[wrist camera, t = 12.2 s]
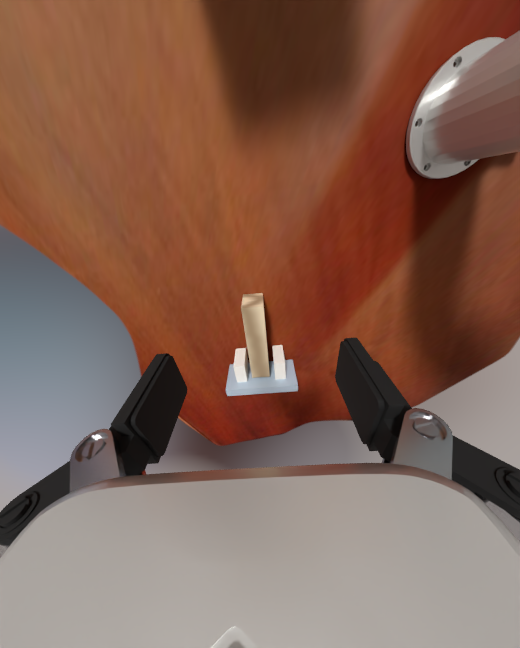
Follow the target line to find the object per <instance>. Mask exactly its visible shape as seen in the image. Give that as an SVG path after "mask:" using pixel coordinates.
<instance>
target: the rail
mask: <svg viewBox="0 0 520 648" xmlns="http://www.w3.org/2000/svg"><path fill="white" fill-rule="evenodd" d="M241 311H242V317H243V323H244V330H245V336H246V342H247V348H248V354H249V361H250V367H251V373H252V378H256V377H270V370H269V357H268V347H267V336H266V325H265V313H264V302H263V293H257V294H246V295H243V299H242V306H241Z"/></svg>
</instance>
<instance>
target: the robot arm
mask: <svg viewBox="0 0 520 648" xmlns="http://www.w3.org/2000/svg"><path fill="white" fill-rule="evenodd" d="M415 123H416V126H415ZM519 151H520V31H518V32H517V33H515V34H514V35H512V36H510V37H509V38H507V39H506V40H505V39H503V38H500V37H488V38H485V39H481V40H478V41H476V42H474V43H472V44H470V45H468V46H466V47H464V48H463V49H462V50H460V51H459V52H457V53H456V54H455V55H453V56H452V57H451V58H450V59H449V60H448V61H446V62H445V63H444V64H443V65H442V66H441V67H440V68H439V69H438V71H437V72H436V73H435V74H434V75H433V76H432V77H431V79H430V80H429V82H428V83H427V85H426V86H425V88H424V89H423V91H422V93H421V94H420V96H419V98H418V100H417V102H416V104H415V107H414V109H413V112H412V114H411V117H410V121H409V125H408V128H407V136H406V152H407V157H408V161H409V163H410V165H411V167H412V168H413V169H414V170H415V172H416V173H417V174H419V175H421V176H422V177H425V178H429V179H439V178H446V177H450V176H453V175H456V174H458V173H460V172H462V171H464V170H465V169H467V168H468V167H470V166H471V165H473V164H474V163H475V162H476V161H478V160H479V159H481V158H486V157H492V156H497V155H503V154H508V153H514V152H519ZM335 378H336V382H337V385H338V387H339V389H340V392H341V394H342V396H343V399H344V401H345V403H346V406H347V408H348V410H349V413H350V415H351V417H352V420H353V422H354V424H355V427H356V429H357V431H358V434H359V436H360V438H361V441H362V442H363V444H367V446H368V448H369V451H378V452H379V453H380V456H381V457H382V458H383V461H382V463H357V464H356V463H355V464H326V465H306V466H286V467H266V468H249V469H248V468H247V469H229V470H211V471H194V472H178V473H161V474H149V475H146V472H145V468H146V465H147V464H152V463H158V462H159V460H160V457H161V456H163V455H164V453H165V451H166V448H167V445H168V443H169V440H170V437H171V434H172V432H173V429H174V426H175V423H176V421H177V418H178V415H179V413H180V410H181V407H182V404H183V402H184V399H185V396H186V394H187V386H186V384H185V382H184V380H183V378H182V376H181V373H180V371H179V369H178V367H177V365H176V363H175V360H174V358H173V357H172V356H170V355H169V354H157V355H156V356H155V357H154V359H153V360H152V362H151V363H150V365H149V366H148V368H147V369H146V371H145V373H144V374H143V376H142V377H141V379H140V380H139V382H138V383H137V385H136V387H135V388H134V389H133V391H132V393H131V394H130V396H129V397H128V399H127V400H126V402H125V403H124V405H123V406H122V408H121V409H120V411H119V413H118V414H117V416H116V417H115V419H114V420H113V422H112V423H111V427H110V429H109V430H108V429H100V430H97V431H95V432H93V433H91V434H89V435H88V436H86V437H85V438H84V439H83V440H82V441H81V442H80V443H79V444H78V445H77V446H76V447H75V449H74V450H73V452H72V454H71V459H70V461H69V462H67V463H66V464H65V465H63V466H62V467H60V468H59V469H57V470H56V471H54V472H53V473H51V474H50V475H48V476H47V477H45V478H44V479H42V480H41V481H39V482H38V483H36V484H35V485H33V486H32V487H30V488H29V489H27V490H26V491H25V492H23V493H22V494H20V495H19V496H17V497H16V498H15V499H13V500H12V501H11V502H10V503H9V504H8V505H7V506H6V507H5V508H4V509H3V510H2V511H1V512H0V648H520V470H519V469H517V468H515V467H513V466H511V465H509V464H507V463H505V462H503V461H501V460H499V459H498V458H496V457H493V456H492V455H490V454H488V453H486V452H484V451H482V450H480V449H478V448H476V447H474V446H472V445H470V444H468V443H466V442H464V441H462V440H460V439H458V438H457V437H455V436H453V435H452V432H451V430H450V428H449V426H448V425H447V424H446V423H445V422H444V421H443V420H442V419H441V418H440V417H438V416H437V415H435V414H433V413H431V412H430V411H427V410H424V409H418V408H414V409H412V408H411V407H410V405H409V404H408V403H407V401H406V400H405V399H404V397H403V396H402V394H401V393H400V392H399V390H398V389H397V388H396V386H395V385H394V384H393V382H392V381H391V379H390V378H389V377H388V375H387V374H386V373H385V371H384V370H383V369H382V367H381V366H380V364H379V363H378V362H376V361H373V360H372V358H371V357H370V355H369V354H368V353H367V351H366V350H365V348H364V347H363V346H362V344H361V343H360V341H359V340H358V339H357V338H346V339H344V341H342V342H341V344H340V350H339V356H338V362H337V369H336V375H335Z"/></svg>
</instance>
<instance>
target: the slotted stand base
mask: <svg viewBox="0 0 520 648" xmlns="http://www.w3.org/2000/svg"><path fill="white" fill-rule="evenodd" d="M272 349H273V361H269V370H270V377H256V378H252V373H251V367H250V363H248V357H247V352H246V348H240V349H236V352H235V359H234V364H230V367H229V373H228V379H227V385H226V393H227V396H236V395H249V394H263V393H277V392H291V391H298V383H297V378H296V374H295V369H294V365H293V360H285V359H284V353H283V347H282V345H276V346H272Z"/></svg>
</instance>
